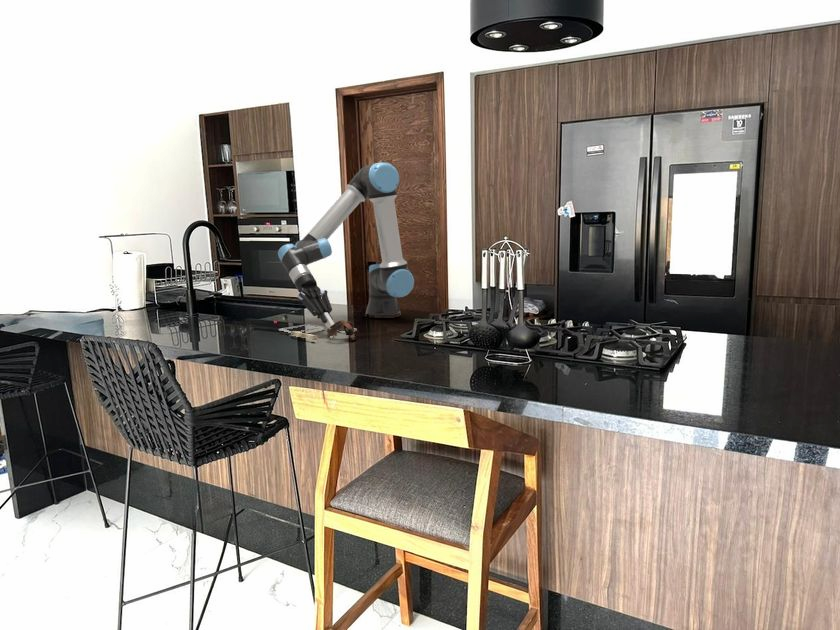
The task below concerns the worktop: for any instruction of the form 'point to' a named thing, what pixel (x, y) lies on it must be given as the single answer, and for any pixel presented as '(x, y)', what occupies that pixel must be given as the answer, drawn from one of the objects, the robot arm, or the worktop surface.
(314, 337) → the guide channel
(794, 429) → the worktop surface
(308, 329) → the tray
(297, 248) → the robot arm
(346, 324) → the broken clay vessel
